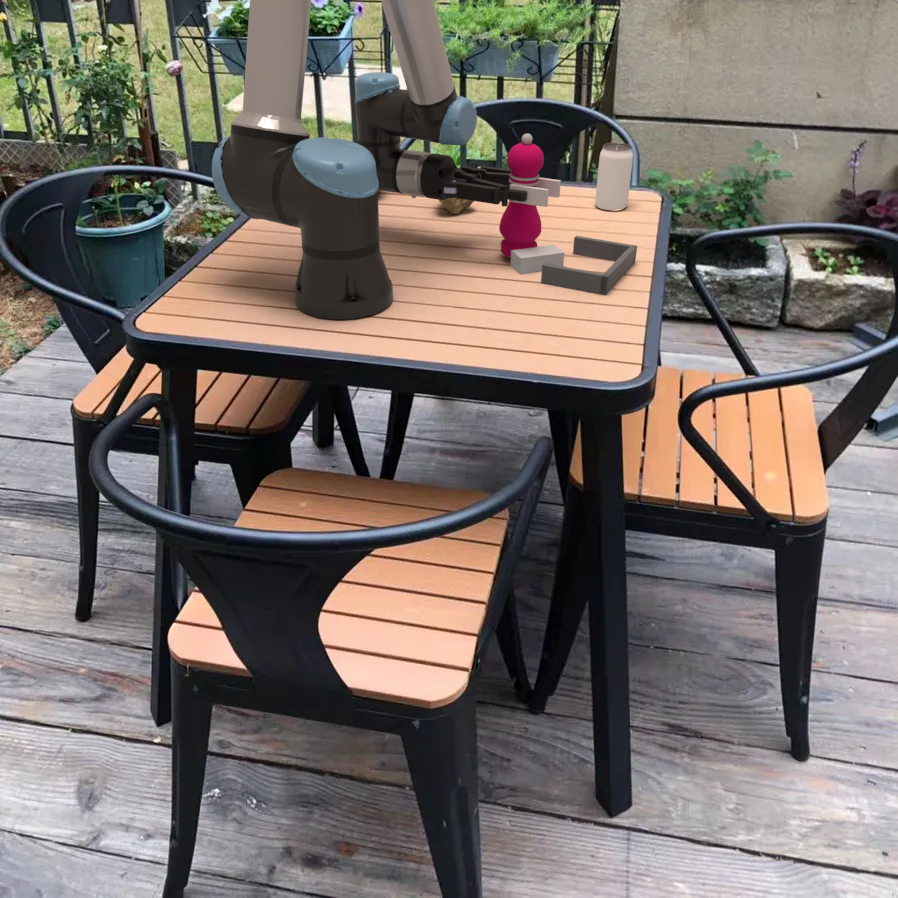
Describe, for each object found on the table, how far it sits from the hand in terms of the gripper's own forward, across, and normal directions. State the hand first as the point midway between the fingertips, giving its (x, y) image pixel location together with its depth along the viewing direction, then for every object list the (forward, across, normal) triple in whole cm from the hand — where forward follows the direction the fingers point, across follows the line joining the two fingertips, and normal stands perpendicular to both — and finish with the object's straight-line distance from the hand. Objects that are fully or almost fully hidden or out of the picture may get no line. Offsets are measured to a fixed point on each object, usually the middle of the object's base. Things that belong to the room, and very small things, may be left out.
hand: (553, 193), depth 142 cm
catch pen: (+8, +1, -12) cm, 14 cm away
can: (0, -35, -12) cm, 37 cm away
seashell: (-28, -20, -12) cm, 37 cm away
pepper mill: (-6, 0, -11) cm, 13 cm away
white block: (-1, +3, -12) cm, 13 cm away
